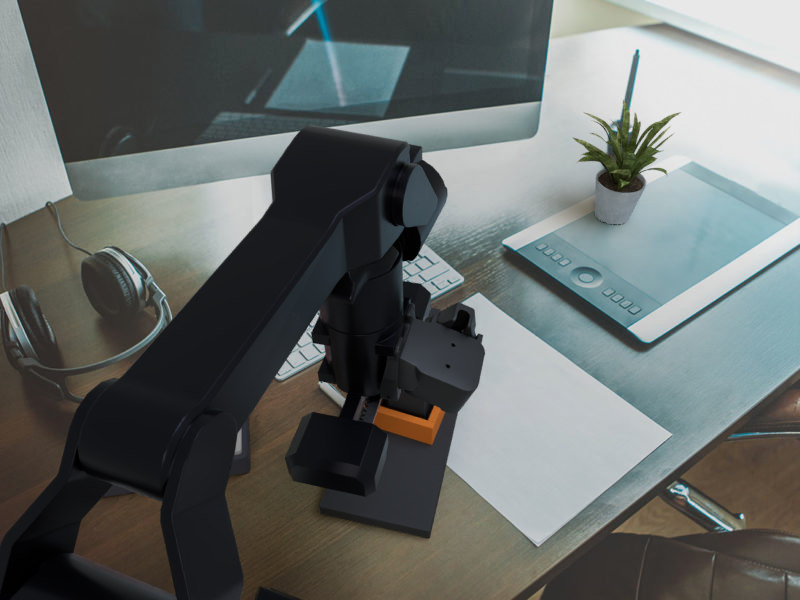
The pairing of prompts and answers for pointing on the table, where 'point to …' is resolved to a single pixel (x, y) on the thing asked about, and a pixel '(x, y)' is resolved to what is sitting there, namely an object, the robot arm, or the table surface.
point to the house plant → (623, 167)
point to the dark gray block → (411, 403)
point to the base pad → (402, 474)
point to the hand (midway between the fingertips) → (372, 436)
